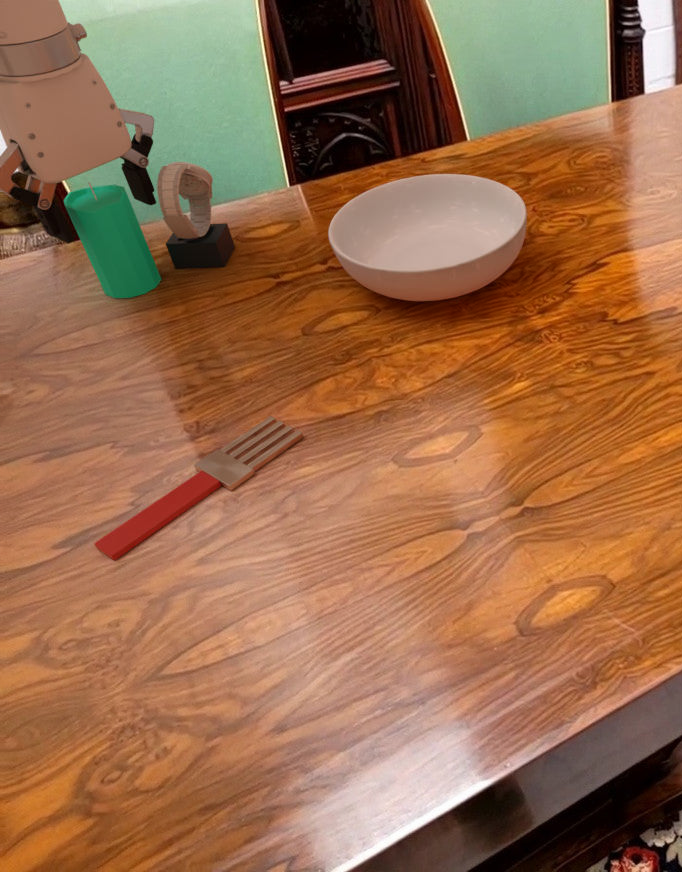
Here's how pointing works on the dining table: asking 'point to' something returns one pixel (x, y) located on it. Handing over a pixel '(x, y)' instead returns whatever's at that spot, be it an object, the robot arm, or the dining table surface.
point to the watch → (192, 218)
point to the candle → (113, 240)
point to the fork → (205, 482)
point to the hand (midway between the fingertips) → (106, 219)
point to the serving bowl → (429, 235)
